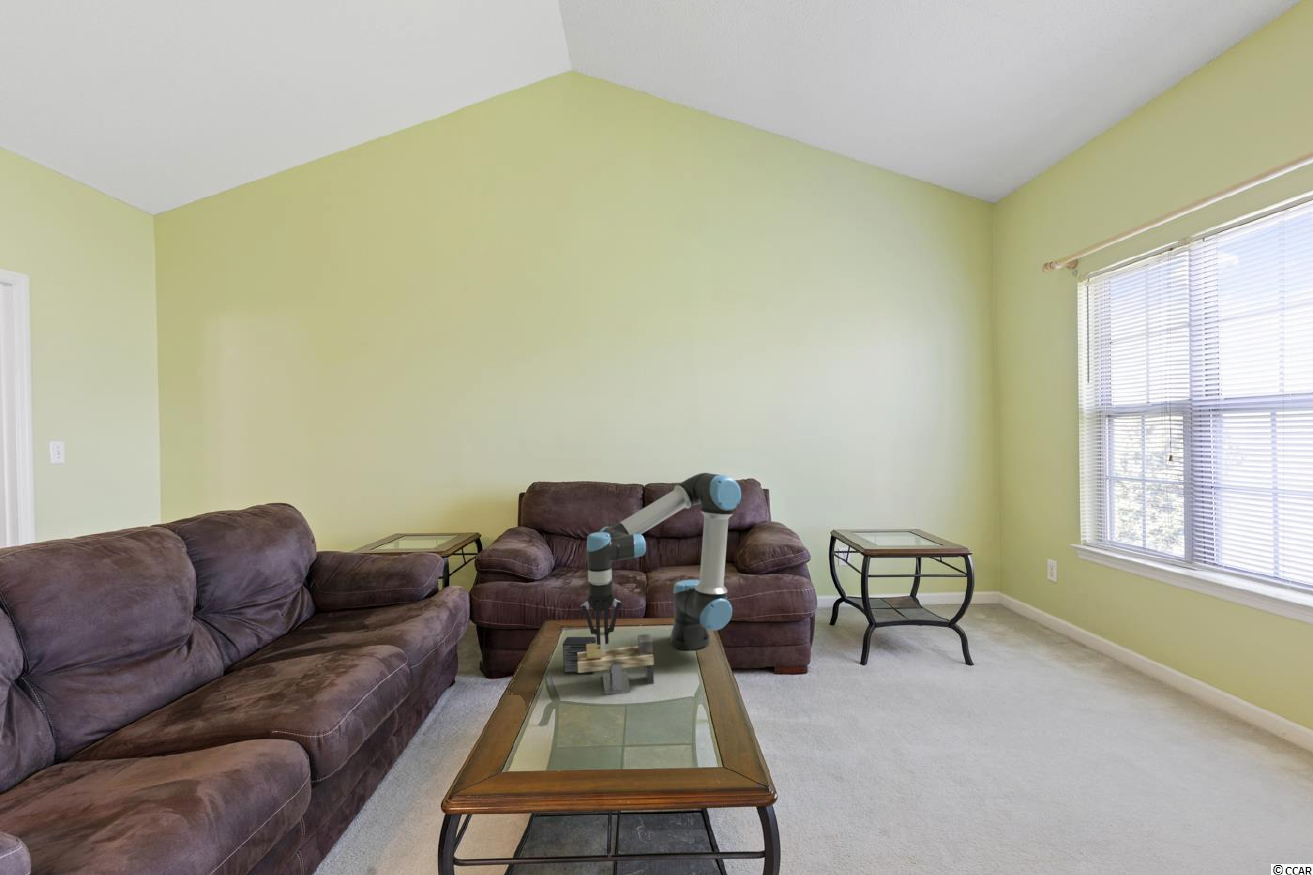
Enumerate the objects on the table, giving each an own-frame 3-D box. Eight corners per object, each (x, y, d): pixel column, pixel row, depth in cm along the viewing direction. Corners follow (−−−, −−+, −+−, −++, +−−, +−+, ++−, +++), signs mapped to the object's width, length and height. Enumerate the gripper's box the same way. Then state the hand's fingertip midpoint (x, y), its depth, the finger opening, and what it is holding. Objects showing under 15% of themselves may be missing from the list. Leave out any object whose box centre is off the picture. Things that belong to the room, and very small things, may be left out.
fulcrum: (649, 670, 186) (648, 644, 186) (655, 689, 174) (654, 661, 174) (602, 676, 184) (601, 649, 183) (604, 694, 172) (603, 666, 171)
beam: (649, 653, 184) (649, 631, 184) (654, 665, 175) (653, 643, 175) (577, 660, 181) (576, 639, 180) (578, 674, 172) (577, 651, 171)
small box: (597, 665, 192) (596, 635, 191) (593, 674, 185) (592, 644, 185) (568, 665, 193) (567, 635, 192) (563, 673, 186) (561, 643, 186)
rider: (600, 657, 179) (600, 642, 179) (601, 663, 175) (600, 648, 175) (586, 659, 179) (586, 644, 178) (587, 665, 174) (586, 650, 174)
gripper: (619, 576, 181) (622, 646, 182) (579, 579, 179) (582, 650, 180) (621, 583, 173) (624, 656, 174) (579, 587, 171) (583, 661, 172)
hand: (603, 653), depth 177 cm, fingers closed
